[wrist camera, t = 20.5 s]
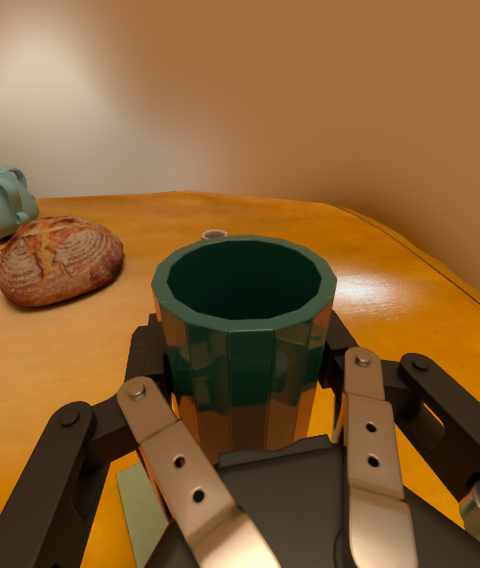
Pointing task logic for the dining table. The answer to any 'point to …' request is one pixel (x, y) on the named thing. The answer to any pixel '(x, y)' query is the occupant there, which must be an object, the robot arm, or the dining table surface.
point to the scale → (141, 512)
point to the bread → (58, 260)
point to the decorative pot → (15, 202)
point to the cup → (243, 338)
